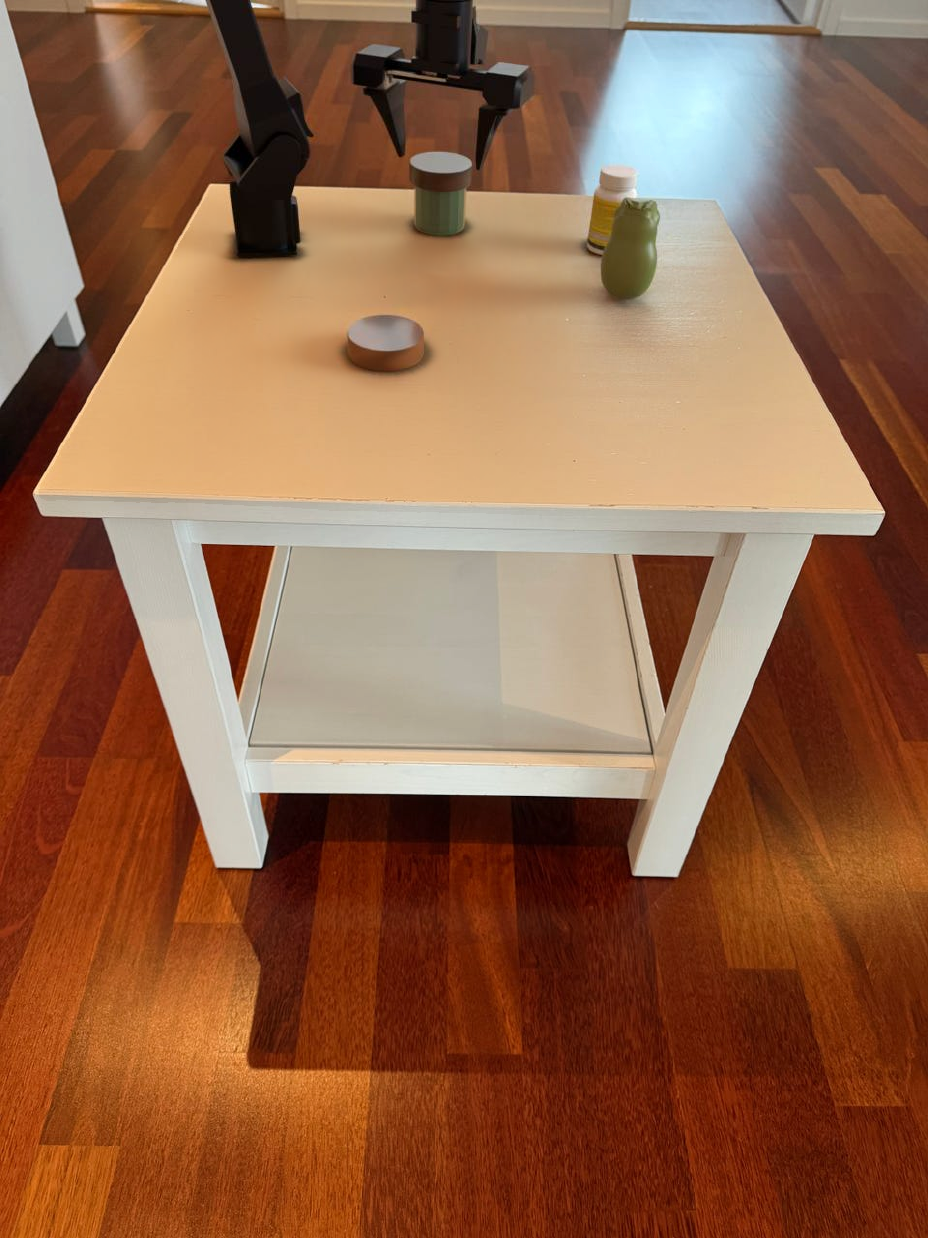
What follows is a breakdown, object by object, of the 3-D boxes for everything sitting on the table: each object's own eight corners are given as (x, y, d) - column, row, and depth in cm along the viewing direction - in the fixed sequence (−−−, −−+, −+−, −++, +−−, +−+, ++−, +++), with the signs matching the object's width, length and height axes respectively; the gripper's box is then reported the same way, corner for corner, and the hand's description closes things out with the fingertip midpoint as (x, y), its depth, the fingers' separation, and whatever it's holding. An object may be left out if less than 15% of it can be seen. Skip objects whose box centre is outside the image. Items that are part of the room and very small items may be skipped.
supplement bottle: (620, 260, 102) (633, 181, 96) (580, 251, 103) (591, 172, 97) (633, 245, 105) (646, 167, 99) (594, 236, 106) (605, 159, 101)
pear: (593, 303, 94) (608, 203, 87) (599, 282, 98) (613, 184, 91) (648, 311, 93) (667, 210, 86) (651, 289, 97) (670, 190, 90)
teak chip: (352, 373, 82) (351, 353, 81) (344, 336, 87) (343, 316, 86) (429, 369, 83) (429, 348, 82) (417, 332, 88) (417, 312, 87)
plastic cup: (418, 236, 104) (419, 190, 101) (411, 216, 108) (411, 172, 105) (468, 234, 105) (470, 189, 102) (459, 215, 109) (460, 170, 106)
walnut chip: (414, 192, 100) (414, 173, 99) (405, 170, 105) (405, 151, 104) (476, 191, 102) (477, 172, 100) (465, 168, 106) (465, 150, 105)
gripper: (555, -8, 95) (540, 153, 106) (388, -29, 99) (390, 129, 109) (525, 13, 87) (512, 185, 98) (345, -10, 91) (351, 158, 102)
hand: (440, 162), depth 102 cm, fingers open, 9 cm apart
